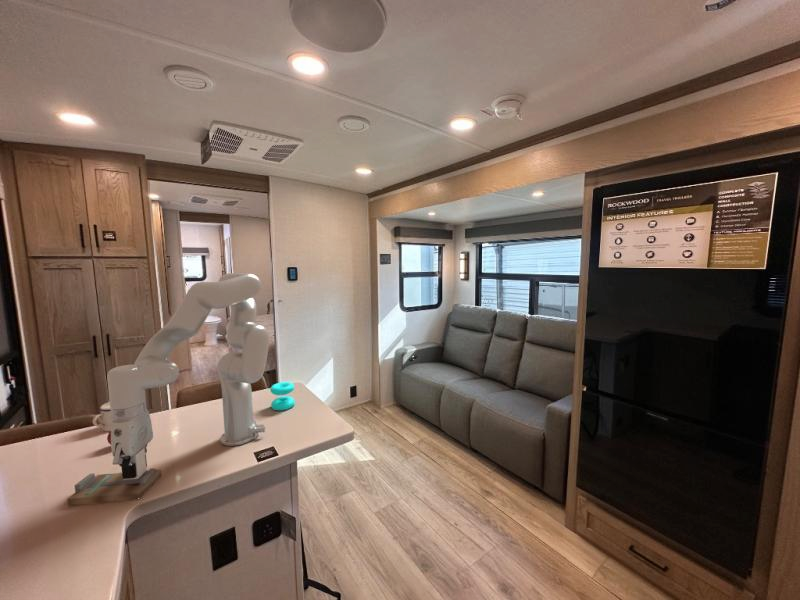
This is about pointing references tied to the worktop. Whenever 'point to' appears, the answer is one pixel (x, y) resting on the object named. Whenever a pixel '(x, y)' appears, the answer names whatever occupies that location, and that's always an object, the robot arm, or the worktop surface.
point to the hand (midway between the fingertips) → (135, 472)
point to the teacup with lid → (104, 417)
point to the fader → (138, 467)
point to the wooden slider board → (110, 488)
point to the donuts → (285, 401)
